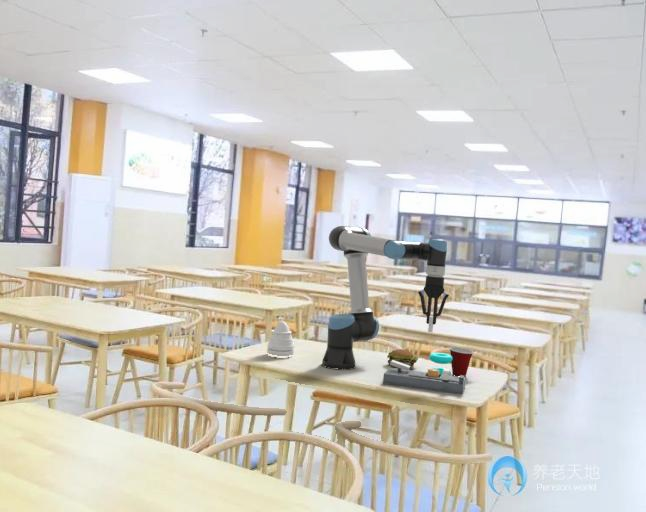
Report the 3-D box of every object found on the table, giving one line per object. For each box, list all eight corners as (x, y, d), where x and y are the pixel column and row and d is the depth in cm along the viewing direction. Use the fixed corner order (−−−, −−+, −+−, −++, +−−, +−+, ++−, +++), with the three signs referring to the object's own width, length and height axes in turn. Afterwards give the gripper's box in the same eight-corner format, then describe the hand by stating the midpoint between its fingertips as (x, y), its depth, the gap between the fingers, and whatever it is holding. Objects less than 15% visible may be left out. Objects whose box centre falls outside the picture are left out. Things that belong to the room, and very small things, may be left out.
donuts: (429, 355, 260) (430, 351, 270) (427, 378, 261) (428, 373, 271) (452, 357, 258) (452, 353, 268) (450, 380, 259) (451, 375, 268)
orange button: (426, 382, 248) (427, 370, 248) (427, 379, 253) (428, 368, 252) (437, 383, 247) (438, 372, 246) (439, 381, 251) (440, 369, 251)
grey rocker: (390, 364, 253) (391, 361, 253) (391, 363, 257) (392, 359, 256) (408, 370, 251) (409, 367, 251) (409, 369, 254) (410, 365, 254)
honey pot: (263, 353, 292) (265, 316, 291) (287, 352, 297) (290, 316, 296) (272, 358, 280) (274, 320, 279) (297, 358, 285) (300, 320, 285)
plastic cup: (472, 379, 263) (474, 352, 263) (447, 376, 265) (449, 350, 265) (471, 374, 274) (473, 348, 274) (447, 371, 276) (449, 345, 276)
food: (422, 369, 278) (423, 352, 277) (395, 370, 273) (396, 352, 273) (408, 362, 291) (409, 346, 290) (381, 363, 286) (383, 346, 285)
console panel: (383, 383, 246) (384, 367, 246) (389, 376, 259) (390, 362, 258) (462, 394, 237) (463, 378, 236) (465, 386, 249) (466, 371, 249)
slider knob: (442, 379, 240) (443, 370, 240) (443, 377, 244) (444, 368, 244) (448, 380, 239) (449, 371, 239) (449, 378, 243) (450, 369, 243)
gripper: (418, 274, 250) (413, 331, 251) (449, 278, 245) (444, 335, 247) (421, 273, 257) (416, 328, 258) (452, 277, 253) (447, 332, 254)
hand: (430, 331), depth 252 cm, fingers closed
